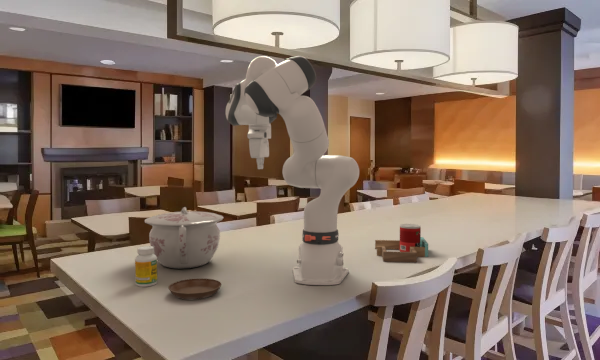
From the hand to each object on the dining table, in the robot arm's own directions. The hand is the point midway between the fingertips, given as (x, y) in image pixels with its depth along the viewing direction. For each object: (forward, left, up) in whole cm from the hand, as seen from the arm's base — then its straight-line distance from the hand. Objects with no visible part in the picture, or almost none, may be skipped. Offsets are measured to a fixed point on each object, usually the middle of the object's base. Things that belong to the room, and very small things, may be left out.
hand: (260, 169), depth 177 cm
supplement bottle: (-47, +26, -33) cm, 63 cm away
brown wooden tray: (+3, -55, -33) cm, 64 cm away
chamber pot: (-23, +23, -33) cm, 47 cm away
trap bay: (-8, -54, -33) cm, 64 cm away
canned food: (+2, -59, -33) cm, 68 cm away
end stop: (+3, -65, -33) cm, 73 cm away
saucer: (-54, +8, -34) cm, 64 cm away
